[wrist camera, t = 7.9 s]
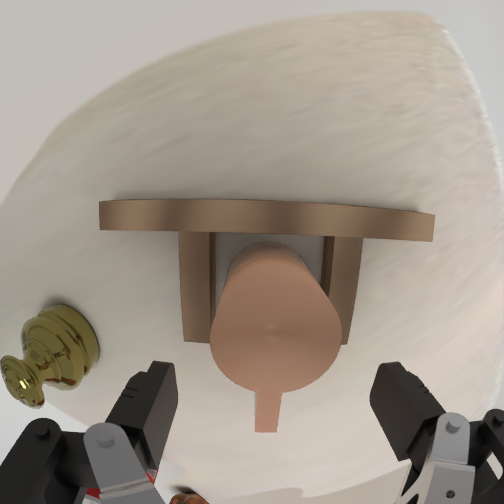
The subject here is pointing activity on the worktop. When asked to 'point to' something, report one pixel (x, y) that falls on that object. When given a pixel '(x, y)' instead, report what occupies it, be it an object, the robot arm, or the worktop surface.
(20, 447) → the robot arm
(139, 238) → the worktop surface
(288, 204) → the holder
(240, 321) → the tan paddle shape
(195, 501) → the tin
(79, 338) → the brass doorknob
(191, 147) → the worktop surface
